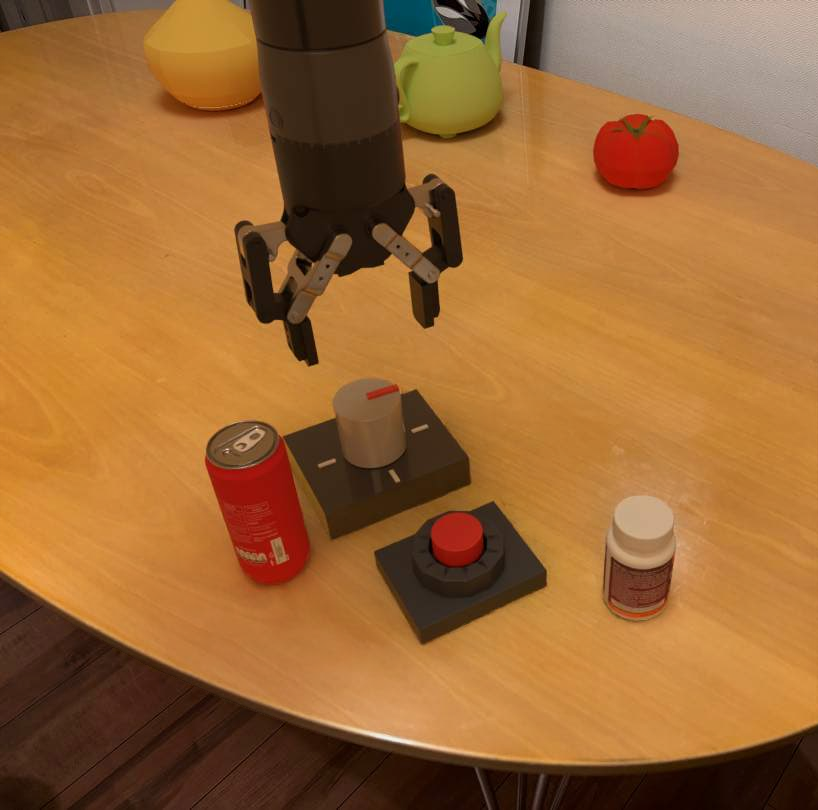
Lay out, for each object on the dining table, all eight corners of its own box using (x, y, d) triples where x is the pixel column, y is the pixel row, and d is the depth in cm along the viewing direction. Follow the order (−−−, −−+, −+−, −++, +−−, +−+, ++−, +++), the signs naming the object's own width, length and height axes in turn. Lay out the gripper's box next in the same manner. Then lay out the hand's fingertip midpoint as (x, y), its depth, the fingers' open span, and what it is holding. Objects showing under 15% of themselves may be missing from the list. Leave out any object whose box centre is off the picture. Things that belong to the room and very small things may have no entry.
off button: (446, 575, 61) (444, 558, 60) (424, 540, 63) (422, 524, 62) (492, 554, 62) (491, 538, 61) (469, 521, 65) (468, 505, 64)
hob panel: (331, 541, 67) (324, 512, 65) (288, 462, 74) (281, 434, 72) (471, 483, 72) (469, 455, 70) (419, 414, 79) (416, 387, 77)
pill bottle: (680, 609, 63) (694, 530, 57) (620, 631, 61) (628, 552, 56) (648, 561, 66) (658, 482, 61) (591, 581, 65) (595, 501, 59)
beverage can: (226, 568, 65) (184, 450, 58) (279, 524, 69) (246, 407, 61) (275, 600, 63) (238, 482, 55) (327, 554, 66) (299, 436, 59)
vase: (141, 123, 127) (98, -20, 115) (180, 77, 141) (145, -55, 129) (269, 123, 127) (239, -20, 115) (294, 76, 141) (271, -55, 129)
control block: (421, 645, 60) (417, 614, 58) (376, 566, 66) (370, 534, 63) (547, 585, 64) (547, 554, 62) (494, 515, 70) (493, 483, 67)
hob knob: (353, 477, 68) (344, 425, 65) (333, 436, 72) (323, 386, 69) (416, 455, 70) (410, 404, 67) (393, 417, 74) (386, 367, 70)
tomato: (623, 154, 120) (627, 100, 115) (691, 179, 114) (698, 122, 109) (573, 181, 113) (575, 125, 109) (642, 208, 108) (647, 150, 103)
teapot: (475, 86, 138) (471, -3, 130) (544, 112, 131) (545, 19, 122) (362, 127, 126) (350, 32, 118) (432, 158, 118) (423, 59, 110)
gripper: (418, 70, 56) (436, 288, 67) (192, 114, 51) (250, 344, 61) (473, 109, 51) (483, 337, 62) (229, 162, 46) (286, 403, 56)
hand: (367, 340), depth 61 cm, fingers open, 8 cm apart
